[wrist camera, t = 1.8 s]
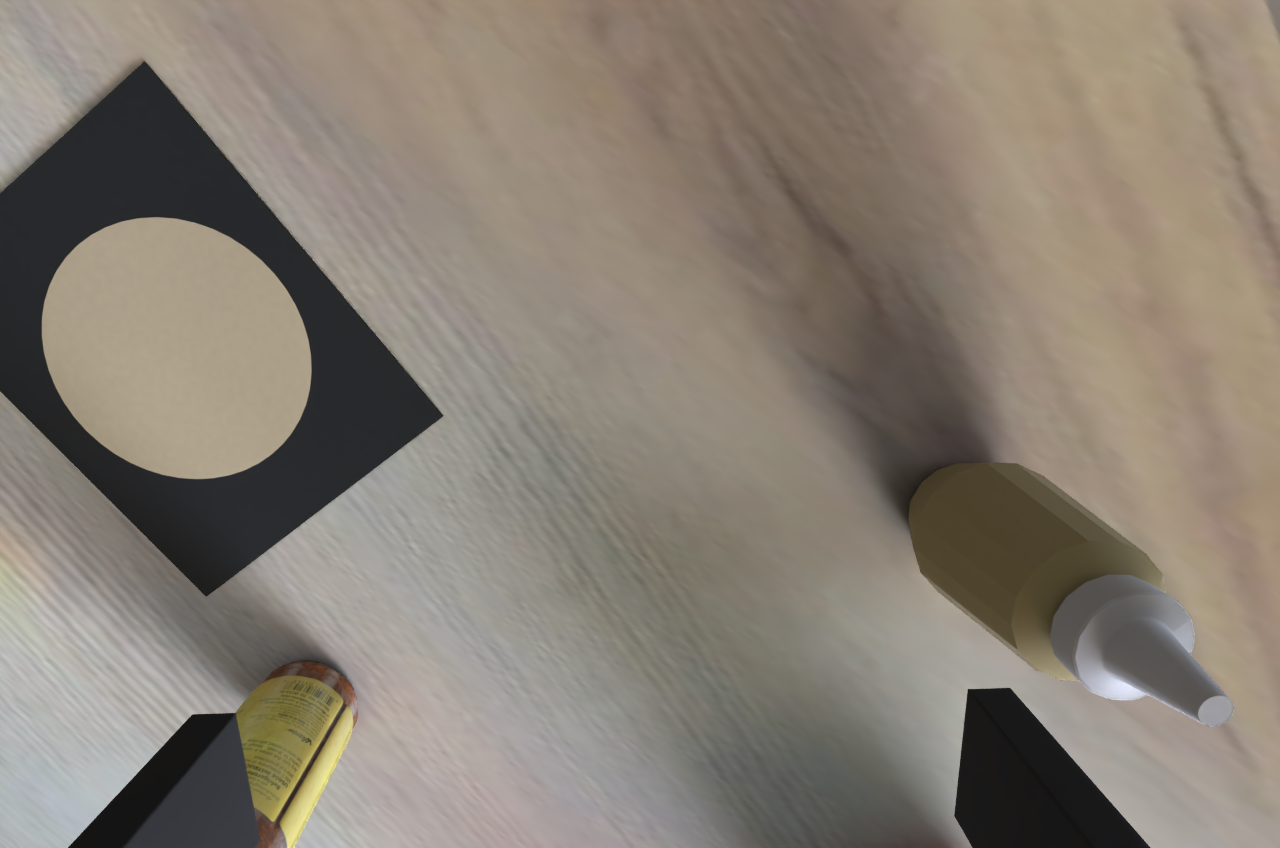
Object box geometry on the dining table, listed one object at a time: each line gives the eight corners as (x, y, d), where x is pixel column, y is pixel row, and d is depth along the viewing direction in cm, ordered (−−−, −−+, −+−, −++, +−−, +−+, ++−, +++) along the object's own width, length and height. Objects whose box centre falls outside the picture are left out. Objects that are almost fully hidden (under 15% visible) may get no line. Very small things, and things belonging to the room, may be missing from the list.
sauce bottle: (242, 674, 41) (-90, 1042, 22) (336, 641, 41) (81, 986, 22) (293, 760, 43) (23, 1174, 24) (384, 729, 43) (185, 1124, 23)
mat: (-102, 288, 36) (-104, 288, 36) (145, 62, 33) (144, 61, 33) (207, 596, 40) (205, 596, 40) (443, 415, 38) (442, 416, 38)
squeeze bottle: (892, 583, 41) (1091, 831, 23) (882, 454, 39) (1091, 620, 21) (1028, 562, 41) (1331, 795, 23) (1024, 431, 39) (1352, 579, 21)
